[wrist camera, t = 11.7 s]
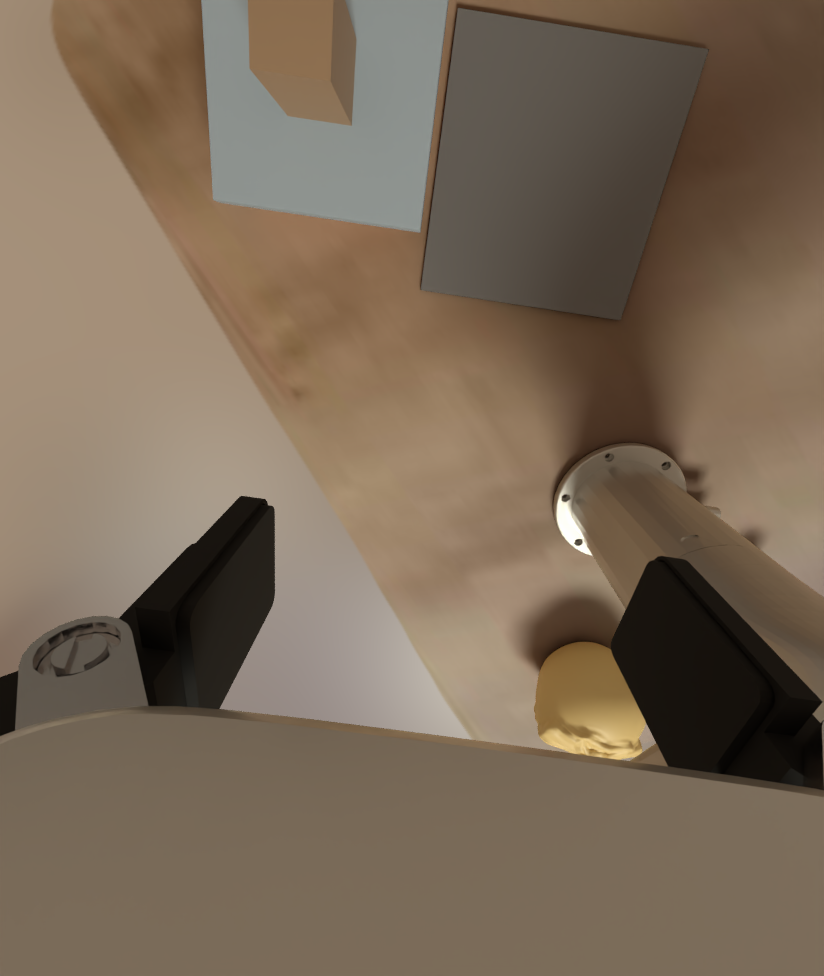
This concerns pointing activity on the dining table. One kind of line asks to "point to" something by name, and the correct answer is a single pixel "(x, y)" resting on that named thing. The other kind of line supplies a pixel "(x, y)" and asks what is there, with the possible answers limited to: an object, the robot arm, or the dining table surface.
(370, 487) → the dining table surface
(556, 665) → the sculpture
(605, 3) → the dining table surface
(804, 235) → the dining table surface
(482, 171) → the mat
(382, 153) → the lid
